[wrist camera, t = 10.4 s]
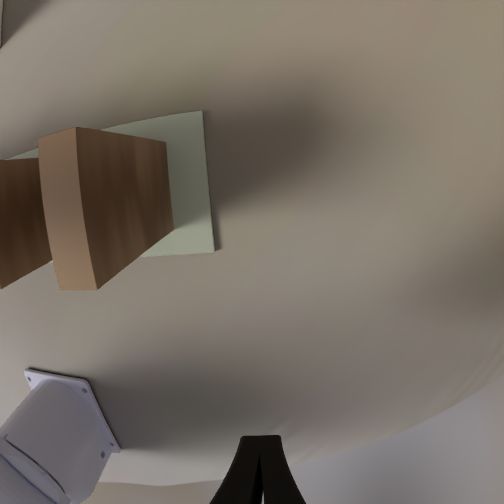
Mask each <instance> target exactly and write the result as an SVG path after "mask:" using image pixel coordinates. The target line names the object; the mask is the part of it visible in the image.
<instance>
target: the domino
mask: <svg viewBox="0 0 504 504" xmlns="http://www.w3.org/2000/svg"><path fill="white" fill-rule="evenodd" d="M52 260H53V259H52V254H51V249H50V244H49V239H48V233H47V227H46V221H45V214H44V207H43V199H42V191H41V181H40V169H39V158H25V159H10V160H0V289H2V288H4V287H6V286H8V285H9V284H11V283H13V282H14V281H16V280H18V279H20V278H21V277H23V276H25V275H27V274H29V273H30V272H32V271H34V270H36V269H38V268H39V267H41V266H43V265H45V264H47V263H49V262H50V261H52Z"/></svg>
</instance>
